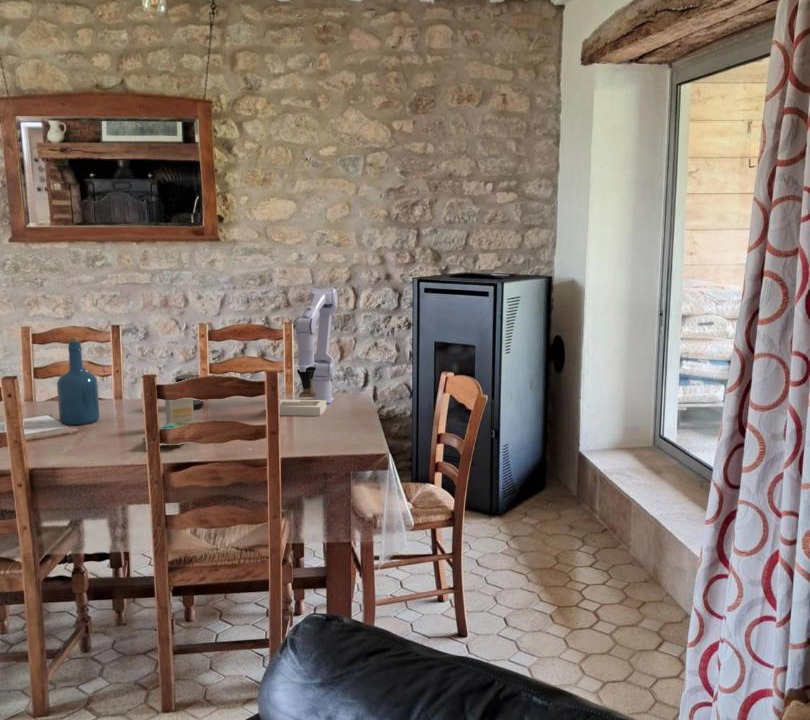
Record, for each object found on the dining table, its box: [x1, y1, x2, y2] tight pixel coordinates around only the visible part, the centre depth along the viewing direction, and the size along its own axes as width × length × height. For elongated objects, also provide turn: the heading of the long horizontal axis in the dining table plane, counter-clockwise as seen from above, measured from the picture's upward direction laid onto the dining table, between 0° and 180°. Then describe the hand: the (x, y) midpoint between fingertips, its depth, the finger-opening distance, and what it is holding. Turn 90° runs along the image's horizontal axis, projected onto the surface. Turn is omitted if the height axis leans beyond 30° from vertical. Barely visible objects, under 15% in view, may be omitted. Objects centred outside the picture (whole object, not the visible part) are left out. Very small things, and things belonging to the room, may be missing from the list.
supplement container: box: [174, 374, 205, 411], centre depth 307 cm, size 10×10×12 cm
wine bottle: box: [56, 336, 101, 426], centre depth 285 cm, size 14×13×30 cm
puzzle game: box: [142, 423, 189, 448], centre depth 260 cm, size 12×5×20 cm
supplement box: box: [164, 399, 195, 424], centre depth 276 cm, size 8×5×13 cm, turn 124°
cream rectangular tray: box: [279, 399, 327, 417], centre depth 300 cm, size 12×20×3 cm, turn 85°
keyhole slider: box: [298, 379, 317, 398], centre depth 299 cm, size 6×6×6 cm
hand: (307, 387), depth 299 cm, fingers closed on keyhole slider, 3 cm apart
